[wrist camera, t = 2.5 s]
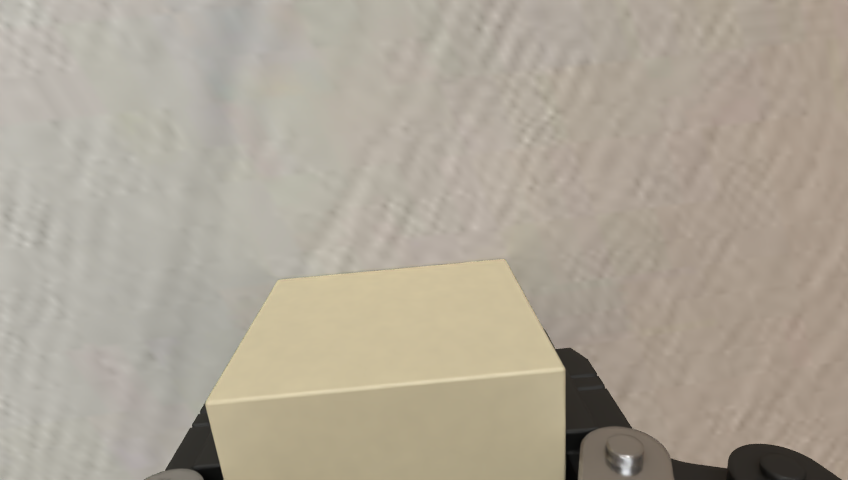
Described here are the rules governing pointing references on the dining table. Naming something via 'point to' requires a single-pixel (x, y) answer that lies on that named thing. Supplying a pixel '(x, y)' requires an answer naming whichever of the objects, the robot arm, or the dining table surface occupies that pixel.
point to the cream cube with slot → (394, 381)
